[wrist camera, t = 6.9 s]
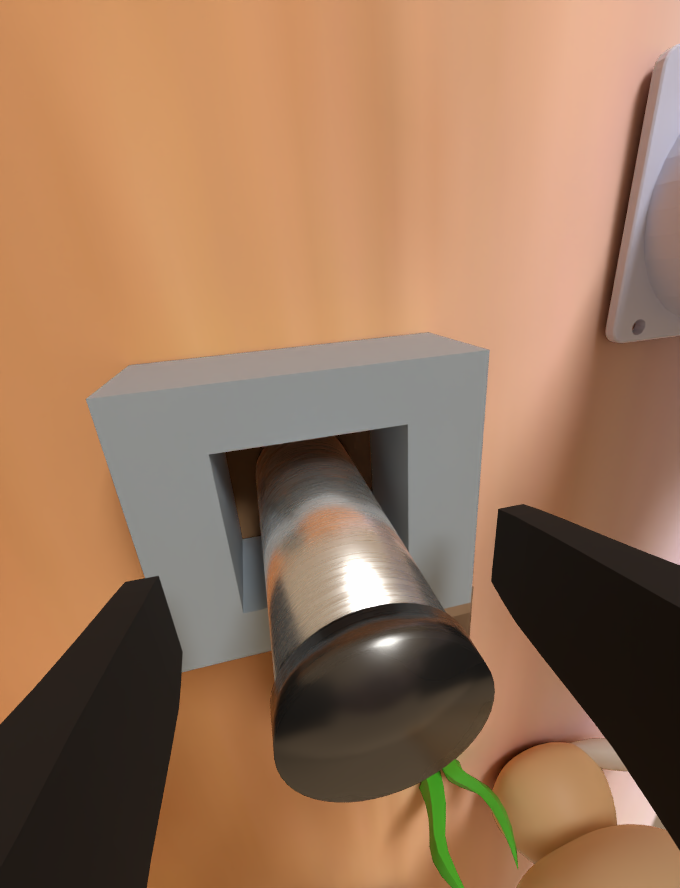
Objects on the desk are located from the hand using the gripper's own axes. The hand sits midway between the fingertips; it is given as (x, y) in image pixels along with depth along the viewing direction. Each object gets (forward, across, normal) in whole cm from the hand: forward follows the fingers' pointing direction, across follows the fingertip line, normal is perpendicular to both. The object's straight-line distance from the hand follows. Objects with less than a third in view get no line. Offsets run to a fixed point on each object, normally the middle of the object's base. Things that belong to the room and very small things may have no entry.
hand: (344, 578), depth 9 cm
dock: (+6, 0, 0) cm, 6 cm away
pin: (+6, 0, 0) cm, 6 cm away
